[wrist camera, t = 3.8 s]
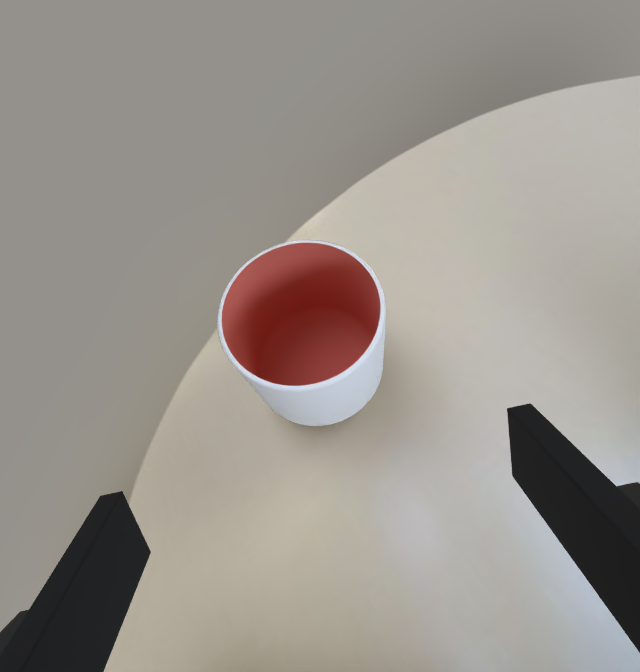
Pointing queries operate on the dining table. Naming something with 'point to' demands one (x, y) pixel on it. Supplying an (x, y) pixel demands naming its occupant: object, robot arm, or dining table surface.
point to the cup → (306, 330)
